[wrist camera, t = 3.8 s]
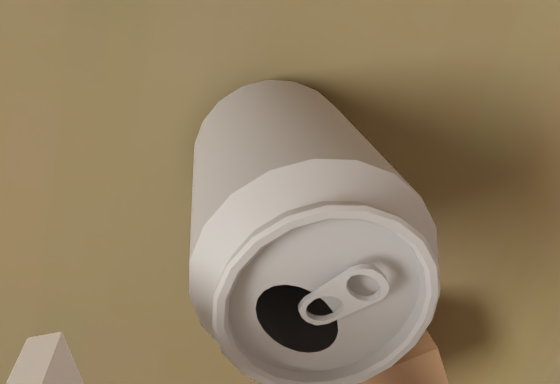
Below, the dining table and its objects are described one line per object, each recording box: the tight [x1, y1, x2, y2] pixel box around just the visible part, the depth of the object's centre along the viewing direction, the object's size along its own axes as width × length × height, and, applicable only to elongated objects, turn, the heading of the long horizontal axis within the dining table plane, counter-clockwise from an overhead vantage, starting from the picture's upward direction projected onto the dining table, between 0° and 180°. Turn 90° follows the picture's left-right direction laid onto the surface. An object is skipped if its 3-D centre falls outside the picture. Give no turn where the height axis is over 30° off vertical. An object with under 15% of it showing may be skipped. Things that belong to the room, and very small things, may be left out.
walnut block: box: [358, 330, 449, 384], centre depth 27 cm, size 5×5×5 cm
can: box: [189, 80, 441, 384], centre depth 17 cm, size 8×8×12 cm
